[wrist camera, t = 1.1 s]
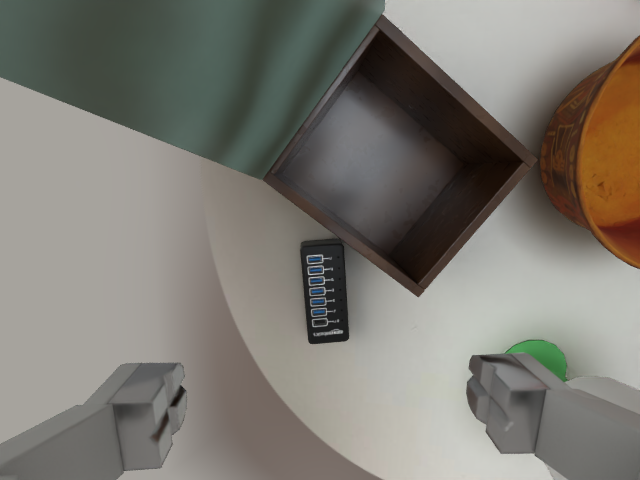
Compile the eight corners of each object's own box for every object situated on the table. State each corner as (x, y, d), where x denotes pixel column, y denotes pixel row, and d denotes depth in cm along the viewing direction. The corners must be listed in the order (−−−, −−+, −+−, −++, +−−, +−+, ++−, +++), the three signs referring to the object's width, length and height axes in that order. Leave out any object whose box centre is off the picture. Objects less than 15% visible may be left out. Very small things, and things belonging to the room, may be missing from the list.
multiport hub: (341, 238, 34) (343, 243, 32) (346, 330, 36) (349, 341, 34) (300, 241, 34) (299, 246, 32) (308, 334, 36) (308, 344, 34)
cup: (452, 388, 39) (549, 533, 23) (525, 300, 37) (685, 396, 21) (532, 437, 41) (670, 598, 26) (606, 356, 39) (805, 480, 23)
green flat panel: (419, -822, 4) (371, -836, 4) (-39, 63, 6) (-65, 40, 6) (385, 10, 20) (375, 3, 20) (261, 180, 22) (253, 173, 22)
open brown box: (471, 162, 33) (538, 159, 23) (387, 262, 35) (418, 297, 25) (355, 60, 30) (378, 10, 21) (272, 175, 32) (258, 177, 23)
